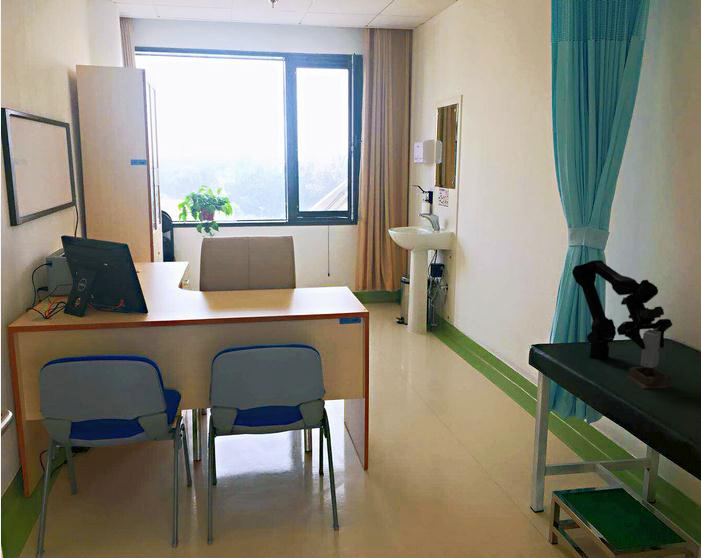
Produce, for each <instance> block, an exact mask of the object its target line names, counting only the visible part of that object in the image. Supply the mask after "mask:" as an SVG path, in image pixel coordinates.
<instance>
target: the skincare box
mask: <svg viewBox="0 0 701 558" xmlns="http://www.w3.org/2000/svg"><path fill="white" fill-rule="evenodd" d="M660 336H661V332H660V331H654V330H653V329H647V330H646V331H645V332H643V336H642V340H643V343H644V345H645V349H642V348H641V356H640V357H641V358H640V366H641V367H649V368H653V367H654V368H655V367H656V366H657V365H659V357H660V348H661V347H660Z"/></svg>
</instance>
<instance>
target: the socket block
mask: <svg viewBox="0 0 701 558" xmlns="http://www.w3.org/2000/svg"><path fill="white" fill-rule="evenodd" d="M625 378H626V379H627V380H629V381H630V382H632V383H633V384H635V386H636V385H637V386H638V387H639V388H641V389H642V388H643V389H642V390H649V388H652V389H665V388H673V384H672V383H670V380H671V376H669V375H667V374H666V373H664V372H662V371H660V370H659V369H657V368H655V367H653V368H649V367H645V366H637V367H629V373H628V375H625Z"/></svg>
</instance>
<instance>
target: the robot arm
mask: <svg viewBox="0 0 701 558" xmlns="http://www.w3.org/2000/svg"><path fill="white" fill-rule="evenodd" d="M571 271H572V277H573V279H574V281H575V283H576V284H578V286H580V287H581V288H582V292H583V294H584V297H585V299H586V304H587V306H588V310H589V314H590V315H591V319H592V322H591V325H590V329H591V331H590V333H588V334H587V335H586V341H587V342H589V343H590V349H589V350H590V352H589V356H588V357H589V358H590V359H591V358H592V359H598V360H607V359H608V358H609V357H610V347H611V346H610V345H609V343H613V342H614V340H615V337H616V334H618V336H624V337H626V338H628V339H629V340H630V341H632V342H634V344H636V345H637V346H638V347H639V348H640V349H641V350H642V349H645V345H644V343H643V337H642V336H641V330H654V331H660V332H661V336H660V348H661V349H663V348H665V338H664V337H665V332H666V331H667V330H668V329H669V328H671V327H672V326H673V323H672V320H671V319H670V318H661V316H664V314H665V311H664V308H663V307H662V306H659V305H658V306H654V308H649V307H645V304H647V303H648V302H649V301H651V300H652V299H653V298H655V297H656V296H657V295H658V293H659V289H658V287H657V286H656V285H655V284H654V283H653V282H650V281H649V279H642V280H641V281H640V283H639V282H638V281H637V280H636V279H634V278H632V277H629V276H625V275H621V274H620V273H619V272H618V271H616V270H615V269H613V268H612V267H610V266H609V265H607V264H606V263H604V261H603V260H601V259H598V260H597V259H596V260H595V259H594V260H593V259H592V260H590V261H588V262H585V263H583V264H579V265H578V264H577V265H575V266H573V269H572V270H571ZM596 274H597V275H598V276H599V277H601V278H602V279H603V280H605V281H606V282H608V283H609V284H611V285H610V286H611V288H612V290H613V291H614V292H615V293H616V294H617V296H626V297H622V300H621V302H620V304H621V306H623V305H624V306H626V309H627V311H628V313H629V315H628V320H629V319H631V320H629V321H623V322H622V323H621V324H620V325H619V326H617V327H616V326H615V323H614V320H613V319H612V318H608V317H607V316H606V314H605V311H604V307H603V305H602V302H601V299H600V296H599V294H598V290H597V287H596V285H595V283H596V278H597V275H596ZM658 318H659V319H658ZM656 319H658V320H657V321H656ZM655 321H656V322H655Z"/></svg>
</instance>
